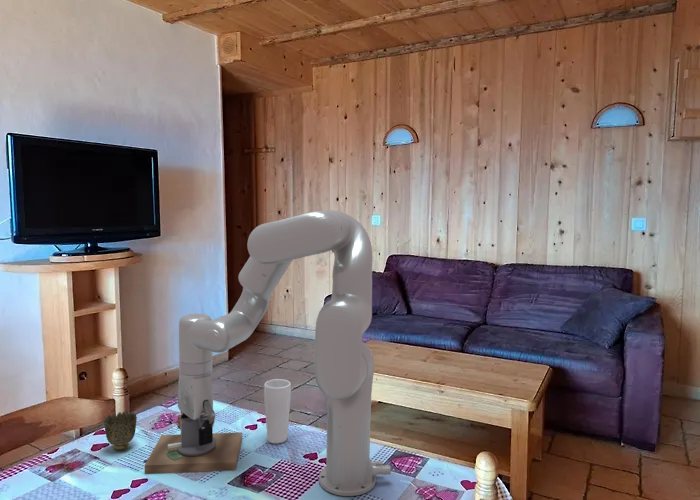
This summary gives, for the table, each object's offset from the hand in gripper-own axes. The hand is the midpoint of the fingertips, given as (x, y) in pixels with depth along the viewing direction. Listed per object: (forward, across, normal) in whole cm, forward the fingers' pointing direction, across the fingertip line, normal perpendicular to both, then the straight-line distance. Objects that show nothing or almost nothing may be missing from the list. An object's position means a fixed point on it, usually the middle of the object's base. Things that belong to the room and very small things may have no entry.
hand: (196, 436), depth 122 cm
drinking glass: (+5, +5, +20) cm, 21 cm away
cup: (+5, -15, -13) cm, 20 cm away
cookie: (+6, -18, +8) cm, 20 cm away
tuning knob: (+3, 0, -1) cm, 3 cm away
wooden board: (+5, 0, 0) cm, 5 cm away
